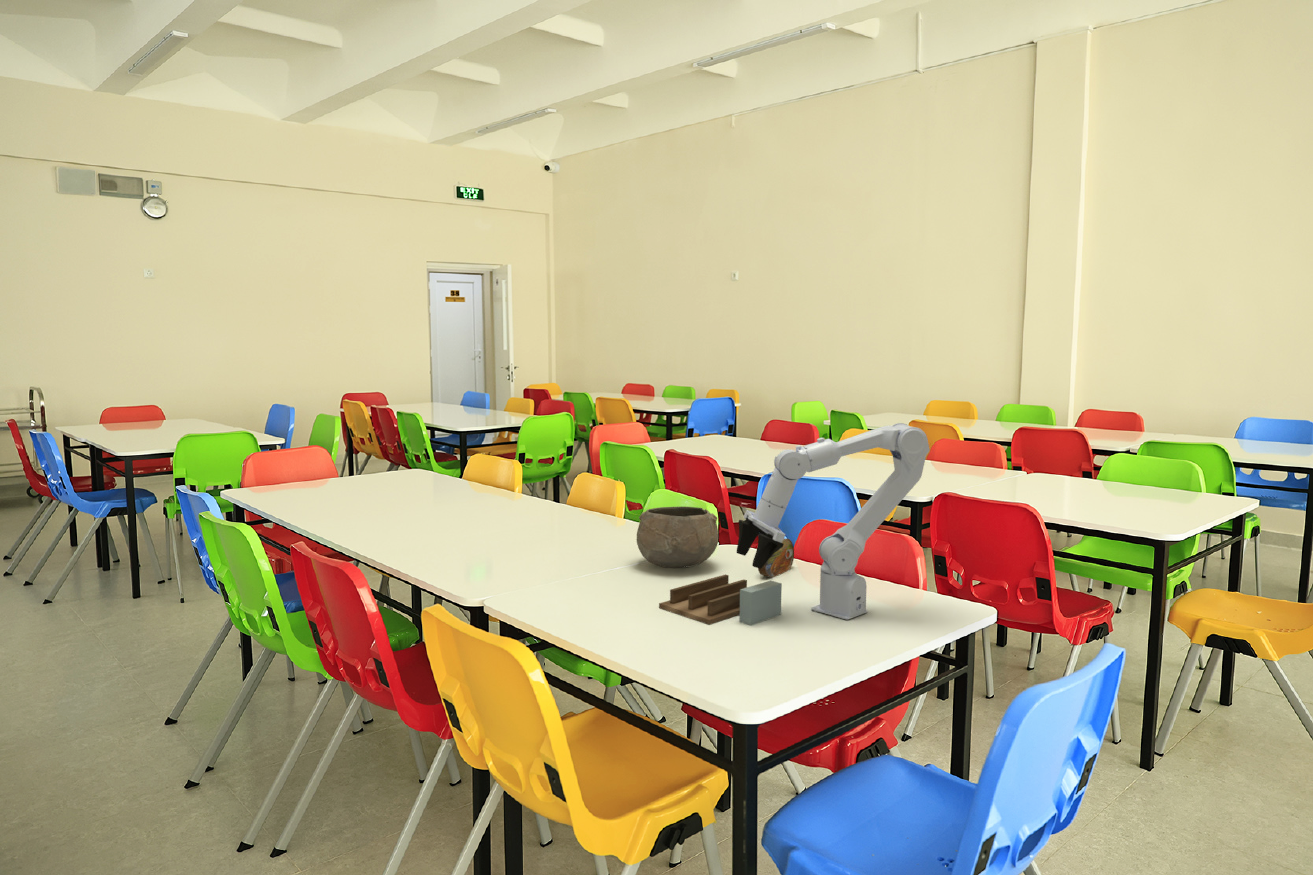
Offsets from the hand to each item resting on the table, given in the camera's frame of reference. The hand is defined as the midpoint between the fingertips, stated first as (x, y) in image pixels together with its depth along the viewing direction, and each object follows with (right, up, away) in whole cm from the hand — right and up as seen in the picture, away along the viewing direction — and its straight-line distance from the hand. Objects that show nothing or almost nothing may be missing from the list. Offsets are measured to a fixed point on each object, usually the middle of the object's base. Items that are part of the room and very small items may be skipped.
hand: (748, 560), depth 183 cm
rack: (-6, -11, +5) cm, 13 cm away
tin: (+10, -8, +32) cm, 34 cm away
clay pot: (-14, -7, +37) cm, 41 cm away
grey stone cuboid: (+2, -12, -3) cm, 12 cm away
